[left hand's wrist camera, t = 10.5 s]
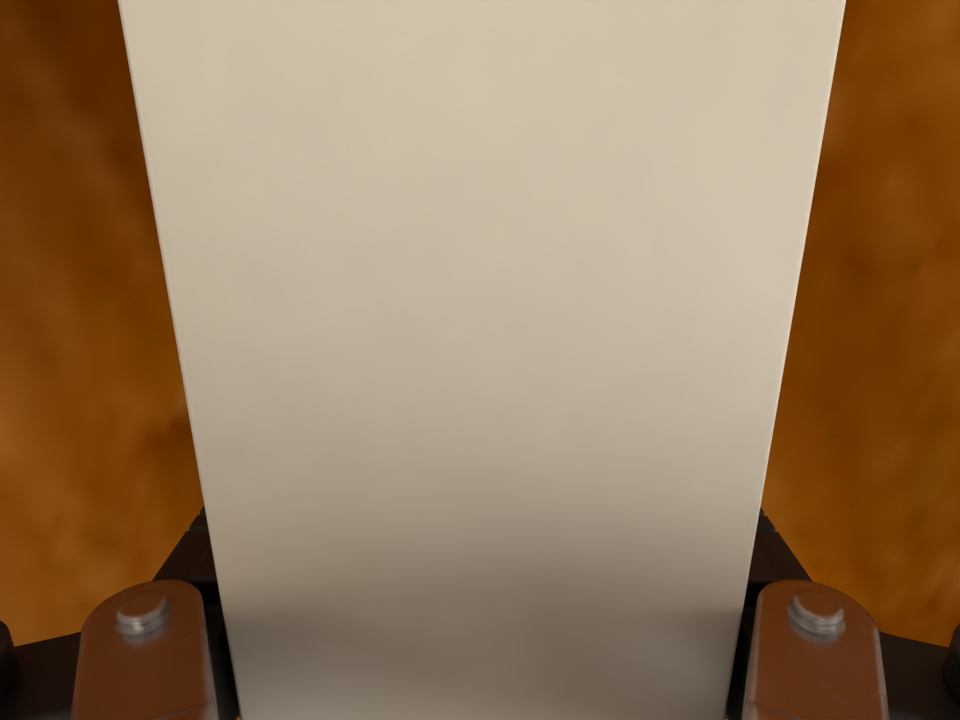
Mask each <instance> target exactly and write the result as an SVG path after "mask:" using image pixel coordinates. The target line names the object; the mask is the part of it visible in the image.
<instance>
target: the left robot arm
mask: <svg viewBox="0 0 960 720" xmlns="http://www.w3.org/2000/svg"><path fill="white" fill-rule="evenodd" d="M237 717H241V715H240V709H239V703H238V698H237V692H236V686H235V680H234V674H233V668H232V663H231V657H230V651H229V645H228V639H227V633H226V628H225V622H224V616H223V610H222V604H221V598H220V593H219V587H218V581H217V575H216V569H215V564H214V558H213V552H212V546H211V540H210V534H209V529H208V523H207V517H206V511H205V505H204V507H203V508H202V510H201V511H200V515H197V517H196V518H195V520H194V521H193V523H192V524H191V525H190V527H189V531H186V533H185V534H184V536H183V537H182V538H181V540H180V541H179V543H178V544H177V546H176V547H175V548H174V550H173V551H172V553H171V554H170V556H169V557H168V559H167V560H166V561H165V563H164V564H163V566H162V567H161V569H160V570H159V572H158V573H157V574H156V576H155V577H154V579H153V580H152V581H149V582H145V583H141V584H138V585H134V586H132V587H129V588H127V589H124V590H122V591H120V592H118V593H116V594H114V595H113V596H111V597H110V598H108V599H106V600H105V601H104V602H103V603H101V604H100V605H99V606H98V607H97V608H96V609H95V610H93V611H92V613H91V614H90V615H89V616H88V618H87V619H86V621H85V623H84V625H83V628H82V631H81V632H78V633H74V634H70V635H66V636H61V637H57V638H52V639H48V640H43V641H39V642H34V643H30V644H25V645H21V646H16V647H14V645H13V642H12V638H11V635H10V632H9V629H8V627H7V625H6V624H4V623H3V622H2V621H0V720H236V719H237ZM724 719H728V720H960V625H958V626H957V627H956V629H955V631H954V633H953V636H952V639H951V642H950V646H949V648H947V647H943V646H938V645H934V644H929V643H925V642H920V641H916V640H911V639H906V638H902V637H897V636H894V635H890V634H886V633H883V632H880V631H878V628H877V625H876V623H875V621H874V619H873V618H872V616H871V615H870V614H869V613H868V611H867V610H865V609H864V608H863V607H862V606H861V605H860V604H859V603H857V602H856V601H855V600H854V599H852V598H850V597H849V596H847V595H846V594H844V593H842V592H840V591H838V590H836V589H833V588H831V587H828V586H826V585H822V584H819V583H815V582H813V581H812V580H811V578H810V577H809V576H808V574H807V573H806V571H805V570H804V568H803V567H802V566H801V564H800V563H799V561H798V560H797V559H796V557H795V556H794V554H793V553H792V551H791V550H790V549H789V547H788V546H787V544H786V543H785V541H784V540H783V539H782V537H781V536H780V534H779V533H778V532H775V527H774V526H773V524H772V523H771V522H770V520H769V519H768V517H767V516H764V512H763V510H762V509H761V507H760V511H759V517H758V523H757V529H756V535H755V540H754V546H753V552H752V558H751V564H750V570H749V576H748V582H747V588H746V594H745V600H744V605H743V611H742V617H741V623H740V629H739V635H738V641H737V647H736V653H735V659H734V665H733V670H732V676H731V682H730V688H729V694H728V700H727V706H726V712H725V718H724Z"/></svg>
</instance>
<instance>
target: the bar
mask: <svg viewBox="0 0 960 720" xmlns="http://www.w3.org/2000/svg"><path fill="white" fill-rule="evenodd" d="M845 3H846V0H118V4H119V10H120V16H121V22H122V28H123V33H124V39H125V45H126V51H127V57H128V63H129V68H130V74H131V80H132V86H133V92H134V98H135V103H136V109H137V115H138V121H139V127H140V133H141V138H142V144H143V150H144V156H145V162H146V167H147V173H148V179H149V185H150V191H151V197H152V202H153V208H154V214H155V220H156V226H157V232H158V237H159V243H160V249H161V255H162V261H163V266H164V272H165V278H166V284H167V290H168V296H169V301H170V307H171V313H172V319H173V325H174V331H175V336H176V342H177V348H178V354H179V360H180V365H181V371H182V377H183V383H184V389H185V395H186V400H187V406H188V412H189V418H190V424H191V430H192V435H193V441H194V447H195V453H196V459H197V465H198V470H199V476H200V482H201V488H202V494H203V499H204V505H205V511H206V517H207V523H208V529H209V534H210V540H211V546H212V552H213V558H214V564H215V569H216V575H217V581H218V587H219V593H220V598H221V604H222V610H223V616H224V622H225V628H226V633H227V639H228V645H229V651H230V657H231V663H232V668H233V674H234V680H235V686H236V692H237V698H238V703H239V709H240V715H241V720H724V718H725V712H726V706H727V700H728V694H729V688H730V682H731V676H732V670H733V665H734V659H735V653H736V647H737V641H738V635H739V629H740V623H741V617H742V611H743V605H744V600H745V594H746V588H747V582H748V576H749V570H750V564H751V558H752V552H753V546H754V540H755V535H756V529H757V523H758V517H759V511H760V505H761V499H762V493H763V487H764V481H765V475H766V470H767V464H768V458H769V452H770V446H771V440H772V434H773V428H774V422H775V416H776V410H777V405H778V399H779V393H780V387H781V381H782V375H783V369H784V363H785V357H786V351H787V345H788V340H789V334H790V328H791V322H792V316H793V310H794V304H795V298H796V292H797V286H798V280H799V275H800V269H801V263H802V257H803V251H804V245H805V239H806V233H807V227H808V221H809V215H810V210H811V204H812V198H813V192H814V186H815V180H816V174H817V168H818V162H819V156H820V150H821V145H822V139H823V133H824V127H825V121H826V115H827V109H828V103H829V97H830V91H831V85H832V80H833V74H834V68H835V62H836V56H837V50H838V44H839V38H840V32H841V26H842V20H843V15H844V9H845Z"/></svg>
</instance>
